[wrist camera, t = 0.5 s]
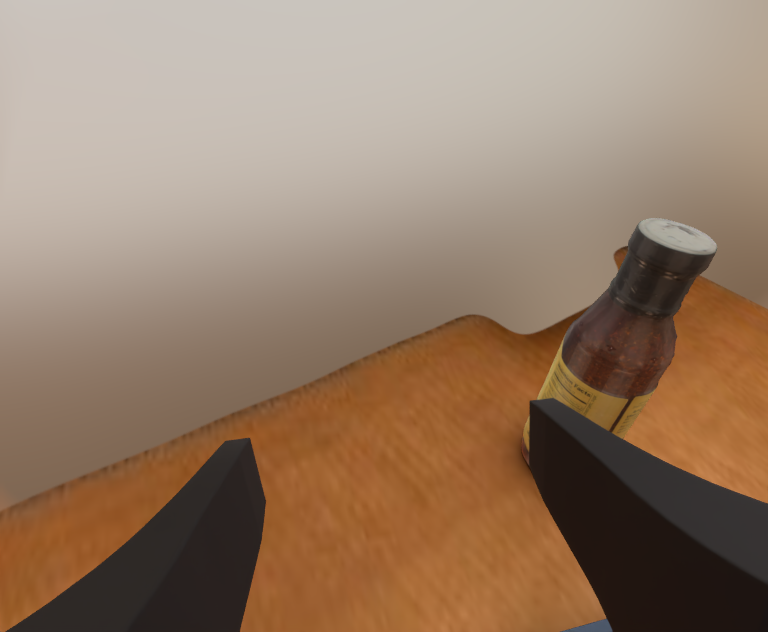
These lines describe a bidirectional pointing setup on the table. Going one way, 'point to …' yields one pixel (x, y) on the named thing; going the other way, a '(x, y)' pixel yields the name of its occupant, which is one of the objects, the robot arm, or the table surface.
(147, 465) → the table surface
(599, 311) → the sauce bottle
